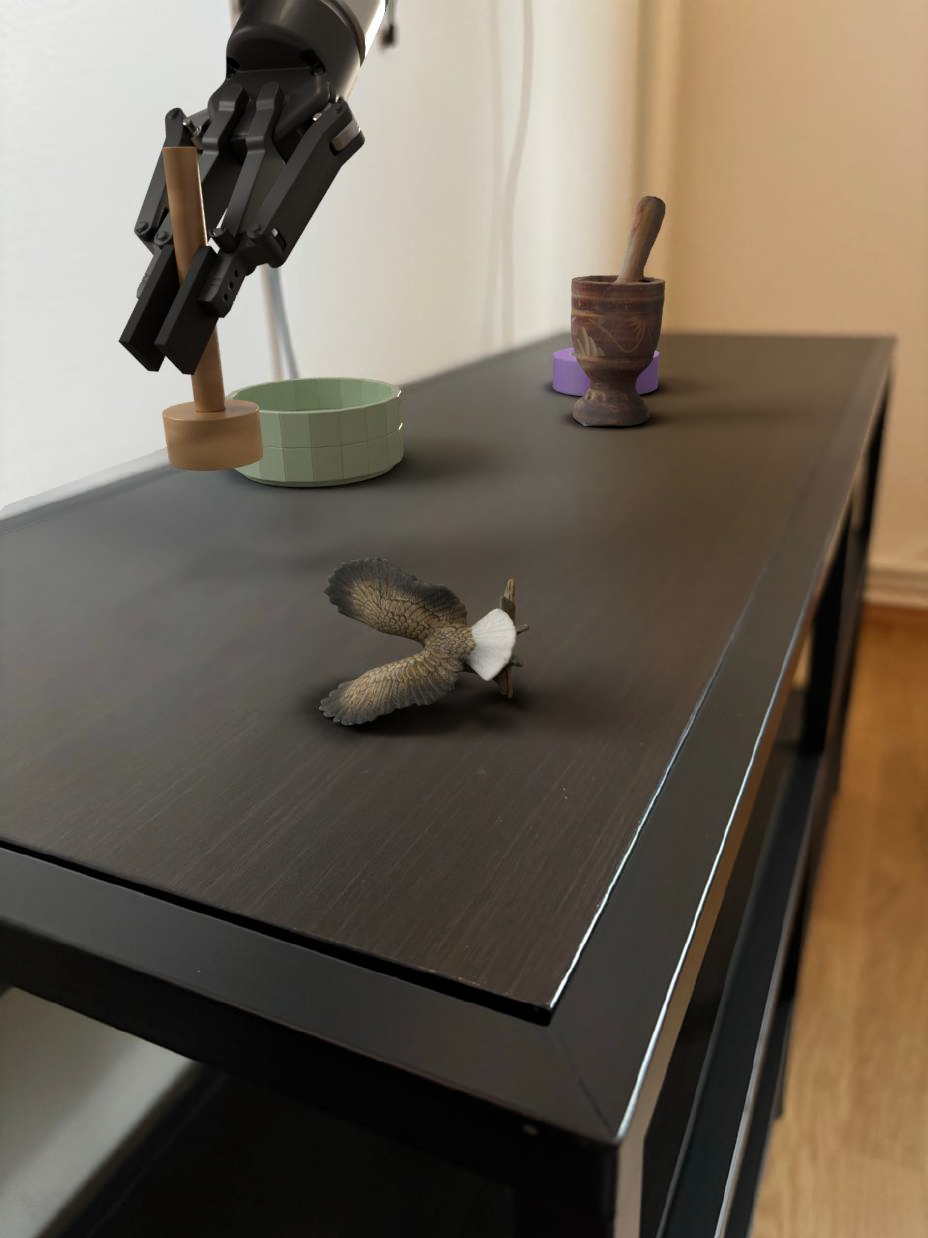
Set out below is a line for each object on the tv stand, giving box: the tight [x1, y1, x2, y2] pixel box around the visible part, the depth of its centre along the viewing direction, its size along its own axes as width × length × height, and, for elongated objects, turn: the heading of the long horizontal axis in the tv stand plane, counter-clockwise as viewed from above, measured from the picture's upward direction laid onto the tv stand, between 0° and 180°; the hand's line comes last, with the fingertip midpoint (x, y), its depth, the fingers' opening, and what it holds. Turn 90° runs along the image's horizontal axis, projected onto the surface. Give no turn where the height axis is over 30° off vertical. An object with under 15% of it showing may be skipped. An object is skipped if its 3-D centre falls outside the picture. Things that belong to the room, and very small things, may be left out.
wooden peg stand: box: [161, 146, 264, 472], centre depth 56 cm, size 6×6×17 cm
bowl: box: [225, 376, 405, 488], centre depth 82 cm, size 14×14×6 cm
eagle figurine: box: [318, 556, 530, 726], centre depth 45 cm, size 8×7×9 cm
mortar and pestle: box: [570, 195, 667, 427], centre depth 94 cm, size 12×9×20 cm
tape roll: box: [552, 347, 660, 397], centre depth 110 cm, size 12×12×4 cm
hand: (156, 357), depth 54 cm, fingers closed on wooden peg stand, 2 cm apart
